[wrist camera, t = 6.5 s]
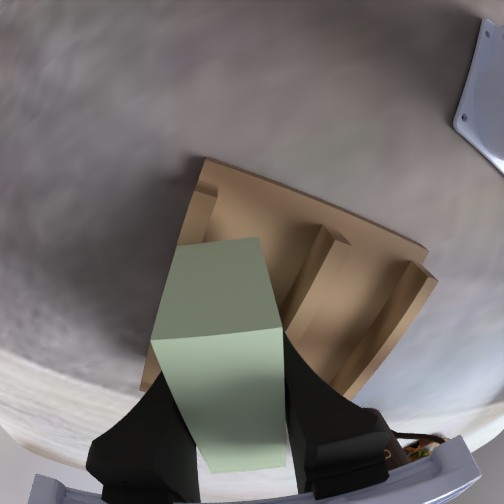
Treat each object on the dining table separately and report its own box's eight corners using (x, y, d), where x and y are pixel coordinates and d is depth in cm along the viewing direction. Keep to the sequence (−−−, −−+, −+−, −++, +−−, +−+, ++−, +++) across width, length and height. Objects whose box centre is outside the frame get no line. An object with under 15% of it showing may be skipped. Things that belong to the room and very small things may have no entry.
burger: (428, 458, 37) (442, 489, 30) (370, 477, 36) (382, 513, 30) (460, 420, 32) (480, 456, 25) (397, 443, 31) (415, 487, 24)
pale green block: (177, 245, 13) (150, 340, 8) (258, 236, 13) (282, 326, 8) (211, 384, 17) (211, 473, 12) (270, 377, 17) (285, 466, 12)
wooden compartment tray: (206, 156, 14) (201, 167, 12) (421, 244, 18) (447, 266, 15) (146, 358, 20) (139, 390, 17) (322, 392, 23) (331, 421, 20)
